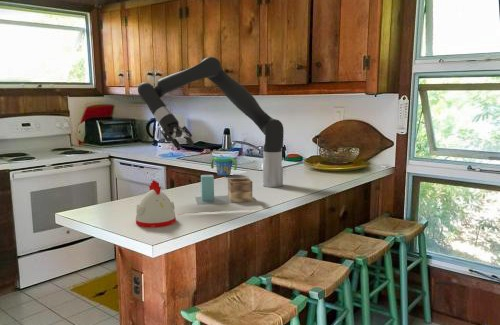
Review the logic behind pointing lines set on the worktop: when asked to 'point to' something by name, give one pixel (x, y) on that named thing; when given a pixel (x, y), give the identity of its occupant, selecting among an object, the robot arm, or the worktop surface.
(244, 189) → the wooden crate
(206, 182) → the teal brick
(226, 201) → the baseplate
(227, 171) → the snack cup
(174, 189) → the worktop surface
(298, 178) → the worktop surface
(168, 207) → the kitchen timer
